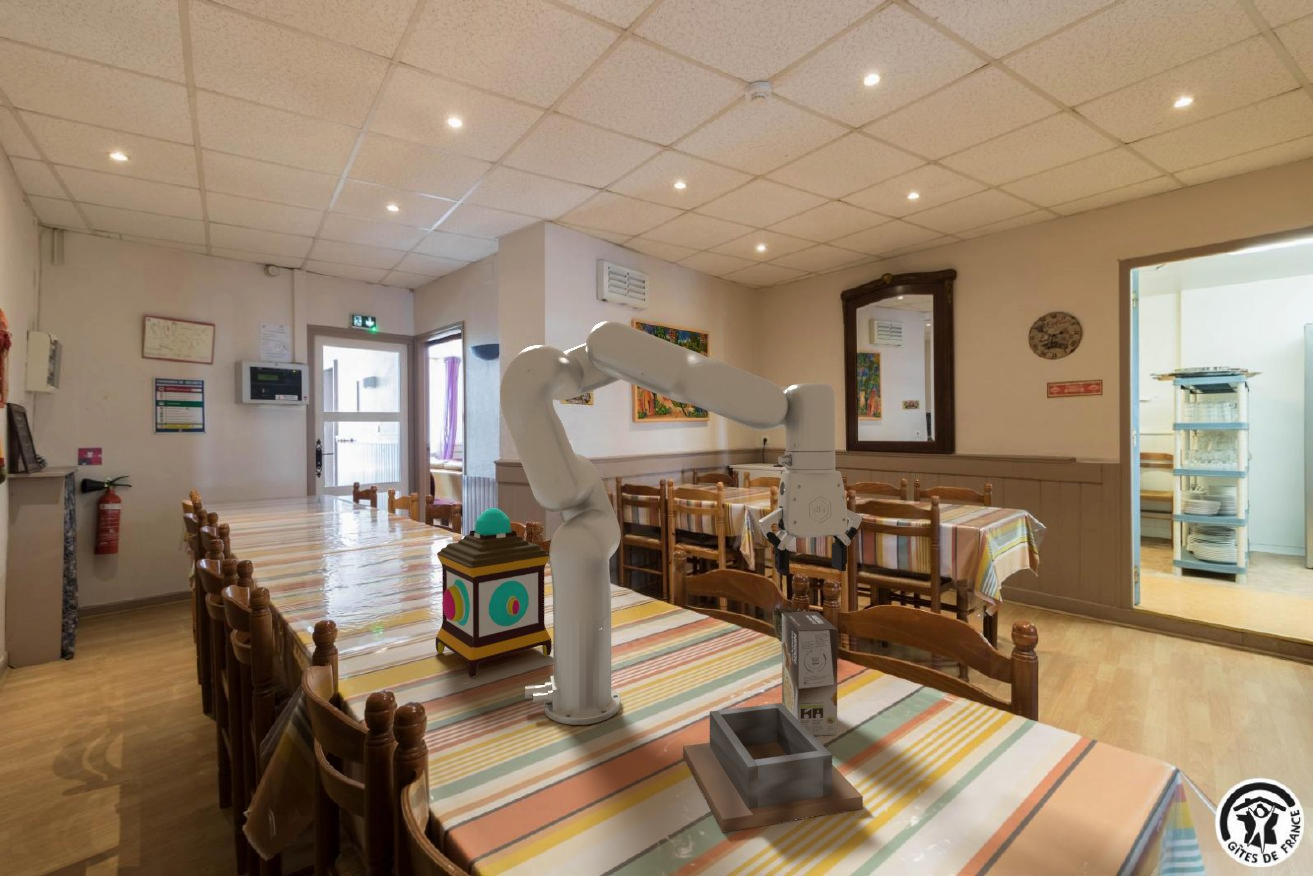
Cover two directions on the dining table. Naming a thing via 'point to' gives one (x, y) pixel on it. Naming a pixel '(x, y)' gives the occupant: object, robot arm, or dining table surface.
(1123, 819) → the dining table surface
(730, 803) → the post socket
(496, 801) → the dining table surface
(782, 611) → the cup
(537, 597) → the decorative lantern
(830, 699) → the coffee box
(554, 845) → the dining table surface
